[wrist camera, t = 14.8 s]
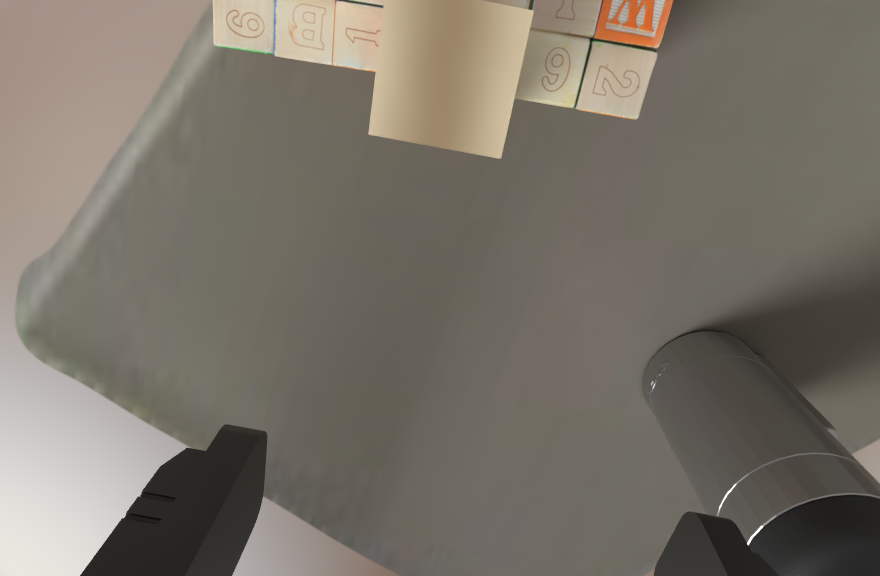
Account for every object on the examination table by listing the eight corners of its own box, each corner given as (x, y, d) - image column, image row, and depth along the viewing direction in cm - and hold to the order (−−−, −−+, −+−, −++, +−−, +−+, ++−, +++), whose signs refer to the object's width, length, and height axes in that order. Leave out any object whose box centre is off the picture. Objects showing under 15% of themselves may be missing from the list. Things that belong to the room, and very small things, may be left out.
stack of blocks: (268, 45, 35) (181, 45, 24) (270, -66, 33) (174, -123, 21) (583, 98, 36) (641, 122, 25) (609, -6, 34) (687, -31, 22)
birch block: (515, 18, 23) (534, 10, 18) (490, 133, 25) (500, 158, 20) (402, -5, 23) (386, -19, 18) (387, 114, 25) (368, 134, 20)
